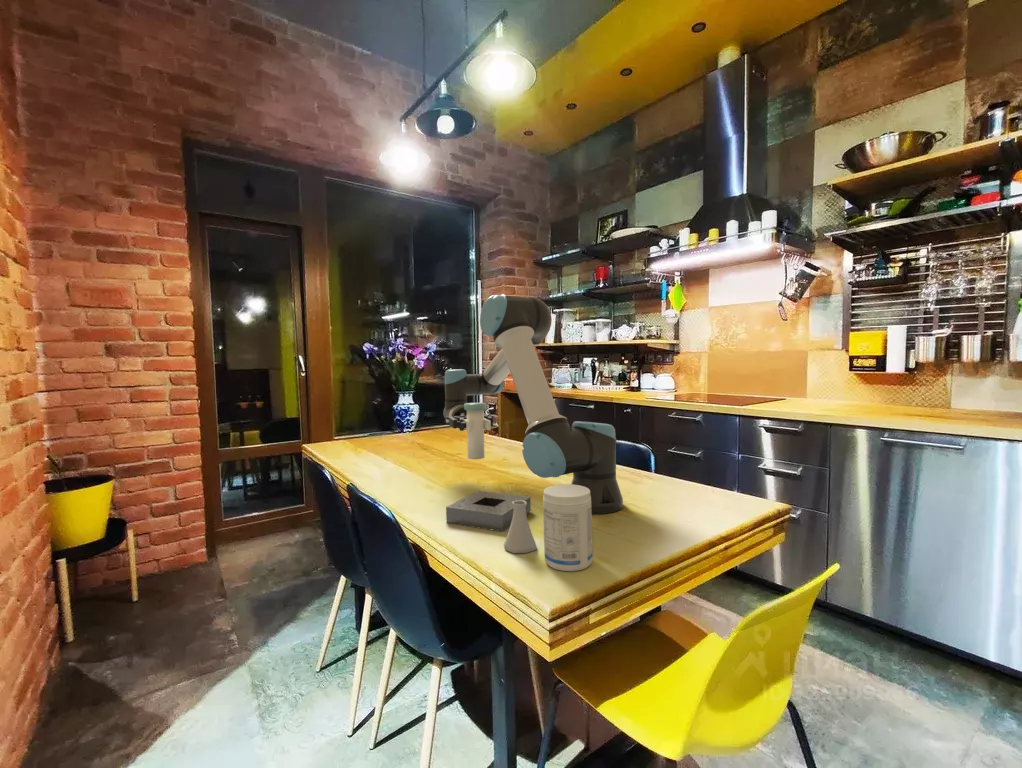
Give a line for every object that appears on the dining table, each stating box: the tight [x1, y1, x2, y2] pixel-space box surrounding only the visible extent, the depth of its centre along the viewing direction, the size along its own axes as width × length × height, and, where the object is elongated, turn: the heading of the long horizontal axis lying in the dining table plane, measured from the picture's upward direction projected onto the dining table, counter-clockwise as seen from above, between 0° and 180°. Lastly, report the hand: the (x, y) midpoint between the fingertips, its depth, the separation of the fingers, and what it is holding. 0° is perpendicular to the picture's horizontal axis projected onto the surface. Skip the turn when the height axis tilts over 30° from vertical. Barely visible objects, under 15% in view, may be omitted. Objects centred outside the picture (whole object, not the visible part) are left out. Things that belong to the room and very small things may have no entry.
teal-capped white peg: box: [464, 402, 487, 460], centre depth 141 cm, size 6×6×16 cm
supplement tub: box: [542, 483, 593, 572], centre depth 95 cm, size 10×10×15 cm
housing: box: [445, 490, 532, 532], centre depth 123 cm, size 16×16×4 cm
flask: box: [503, 500, 538, 554], centre depth 103 cm, size 7×7×10 cm
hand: (479, 426), depth 136 cm, fingers closed on teal-capped white peg, 5 cm apart
